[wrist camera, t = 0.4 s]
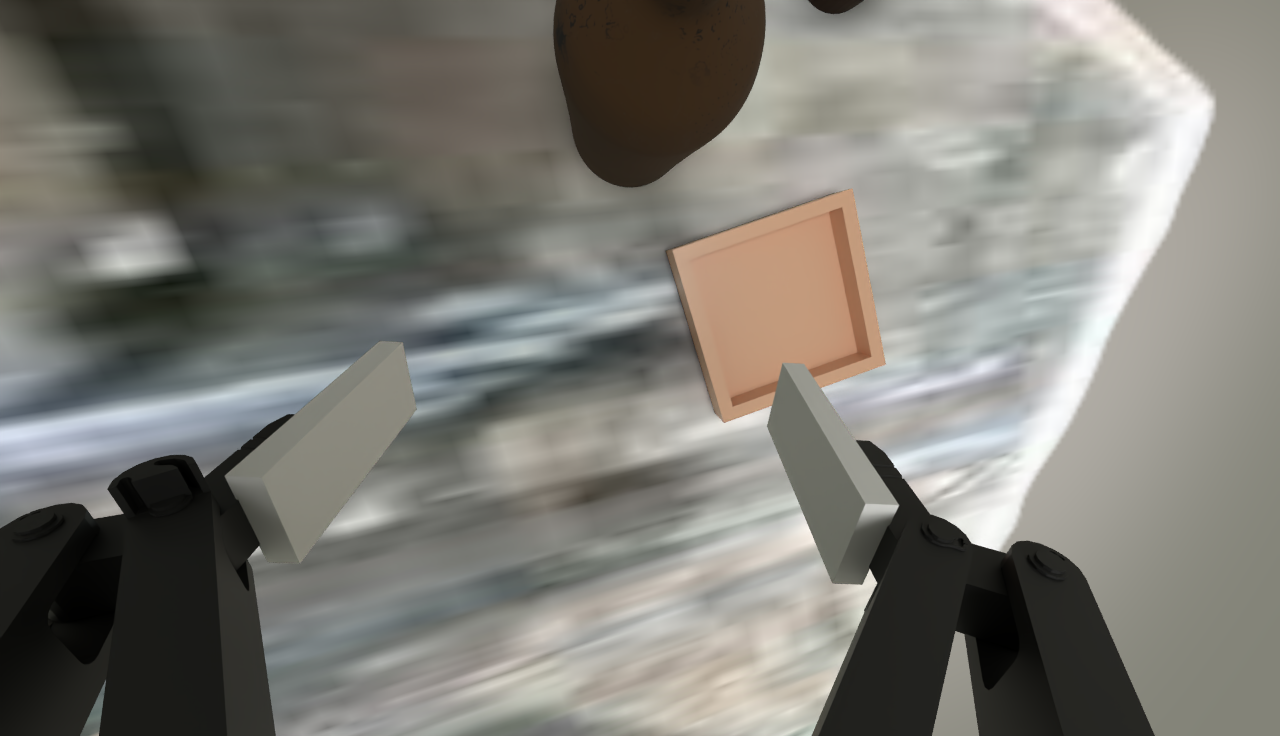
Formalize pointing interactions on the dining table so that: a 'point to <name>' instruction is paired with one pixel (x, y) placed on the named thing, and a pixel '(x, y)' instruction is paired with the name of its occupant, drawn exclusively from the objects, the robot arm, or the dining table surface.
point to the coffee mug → (835, 5)
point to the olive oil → (653, 78)
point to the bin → (779, 302)
